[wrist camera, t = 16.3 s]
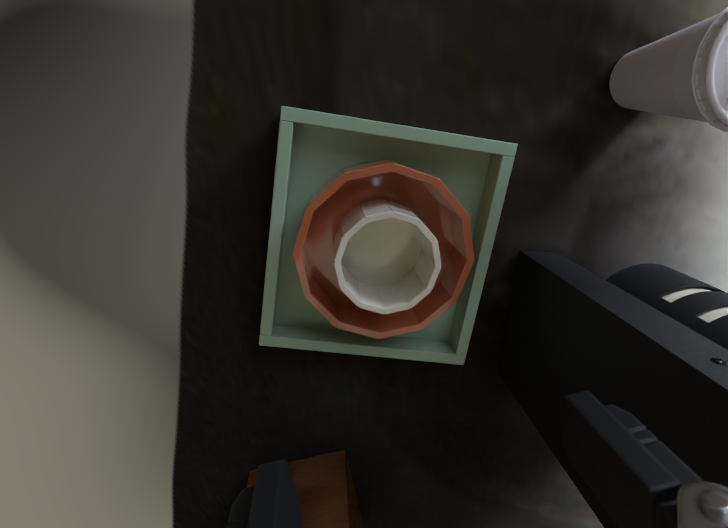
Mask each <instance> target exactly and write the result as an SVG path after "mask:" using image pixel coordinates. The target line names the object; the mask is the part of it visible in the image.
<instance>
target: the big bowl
mask: <svg viewBox="0 0 728 528" xmlns="http://www.w3.org/2000/svg"><path fill="white" fill-rule="evenodd" d="M378 199H384V200H385V199H386V200H391V201H395V202H397V203H400V204H402V205H404V206H407V207H408V208H409V209H410V210H411V211H412V212H413V213H414V214H415V215H416V216H417V217H418V218H419V219H420V220H421V221H422V222H423V223H424V225H425V226H426V227H427V228H428V229H429V230H430V232H431V233H432V234H433V235H434V236H435V237H436V239H437V241H438V245H439V252H440V259H441V270H440V272H439V275H438V277H437V279H436V282H435V284H434V287H433V289H432V291H431V293H429V294H428V295H427V296H426V297H425V298H423V299H422V300H421V301H420V302H418V303H417V304H416V305H415V306H414V307H412V308H410V309H408V310H404V311H399V312H395V313H390V314H379V313H376V312H372V311H369V310H365V309H362V308H359V307H357V306H356V305H355V304H354V303H353V302H352V301H351V300H350V299H349V298H348V297H347V296H346V295H345V294H344V293H343V292H342V291H341V290H340V288H339V284H338V280H337V276H336V271H335V267H334V260H333V241H334V238H335V233H336V230H337V228H338V225H339V223H340V222H341V220H342V219H343V218H344V216H345V215H346V214H347V213H348V212H349V211H350V210H352V209H353V208H354V207H356V206H358V205H359V204H362V203H364V202H367V201H371V200H378ZM293 257H294V261H295V265H296V269H297V272H298V276H299V280H300V284H301V288H302V292H303V295H304V296H305V298H306V299H307V300H308V301H309V302H310V303H311V304H312V305H313V306H314V307H315V308H316V309H317V310H318V311H319V312H320V313H321V314H322V315H323V316H324V317H325V318H326V319H327V320H328V321H329V322H330V323H331V324H332V325H333V326H334V327H336V328H338V329H342V330H345V331H349V332H353V333H356V334H360V335H364V336H368V337H371V338H375V339H383V338H388V337H392V336H397V335H402V334H406V333H411V332H415V331H420V330H422V329H424V328H425V327H427V326H428V325H429V324H430V323H432V322H433V321H434V320H435V319H437V318H438V317H439V316H440V315H441V314H443V313H444V312H445V311H446V310H448V309H449V308H450V307H451V306H452V305H454V304H455V303H456V302H457V301H458V299H459V296H460V294H461V291H462V289H463V287H464V284H465V282H466V280H467V277H468V275H469V272H470V270H471V268H472V265H473V263H474V259H475V257H474V249H473V242H472V234H471V226H470V218H469V215H468V213H467V212H466V210H465V209H464V208H463V207H462V205H461V204H460V203H459V202H458V200H457V199H456V198H455V197H454V195H453V194H452V193H451V192H450V191H449V189H448V188H447V187H446V186H445V184H444V183H443V182H442V181H441V179H439V178H437V177H436V176H434V175H432V174H430V173H428V172H425V171H422V170H419V169H416V168H413V167H410V166H408V165H405V164H402V163H399V162H396V161H393V160H390V159H382V160H377V161H369V162H363V163H359V164H356V165H353V166H348V167H344V168H342V169H340V170H339V171H338V172H337V173H336V174H335V175H333V176H332V177H331V178H329V179H328V180H327V181H326V182H325V183H324V184H323V185H322V186H321V187H320V188H319V189H318V190H317V191H316V192H315V193H314V194H313V195H312V196H310V197H309V199H308V200H307V204H306V207H305V210H304V214H303V217H302V220H301V224H300V227H299V230H298V233H297V237H296V240H295V244H294V248H293Z"/></svg>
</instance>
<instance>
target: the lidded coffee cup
mask: <svg viewBox="0 0 728 528" xmlns="http://www.w3.org/2000/svg"><path fill="white" fill-rule="evenodd" d="M610 92H611V95H612V97H613V99H614V101H615V102H616V103H617V104H618V105H620V106H621V107H623V108H627V109H633V110H639V111H645V112H651V113H657V114H663V115H669V116H675V117H681V118H687V119H693V120H699V121H703V122H709V123H710V125H712V126H714V127H716V128H718V129H720V130H722V131H725V132H728V7H727V8H726V9H724V10H723V11H722V12H721V13H719V14H717V15H714V16H712V17H710V18H708V19H706V20H703V21H701V22H699V23H696V24H694V25H692V26H689V27H687V28H685V29H682V30H680V31H678V32H675V33H673V34H671V35H668V36H666V37H664V38H662V39H659V40H657V41H655V42H652V43H650V44H648V45H645V46H643V47H641V48H638V49H636V50H634V51H631V52H629V53H627V54H626V55H624V56H623V57H622V58H621V59H620V60H619V61H618V62H617V64H616V65H615V67H614V68H613V71H612V73H611V77H610Z"/></svg>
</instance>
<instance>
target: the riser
mask: <svg viewBox="0 0 728 528" xmlns="http://www.w3.org/2000/svg"><path fill="white" fill-rule="evenodd" d="M287 463H288V465H289V468H290V472H291V475H292V478H293V481H294V484H295V488H296V491H297V494H298V497H299V501H300V505H301V511H302V528H364V522H363V518H362V514H361V510H360V506H359V502H358V499H357V495H356V491H355V487H354V483H353V479H352V476H351V472H350V468H349V464H348V460H347V456H346V452H345V450H340V451H336V452H331V453H327V454H322V455H318V456H313V457H309V458H304V459H300V460H295V461H291V462H287ZM257 470H258V469H255V470H251V471H250V473H249V478H248V482H247V487H246V488H248V487H252V486H255V481H256V475H257Z"/></svg>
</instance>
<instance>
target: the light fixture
mask: <svg viewBox="0 0 728 528" xmlns="http://www.w3.org/2000/svg"><path fill="white" fill-rule="evenodd" d="M499 375H500V376H501V378H502V379H503V380H504V382H505V383H506V385H507V386H508V388H509V389H510V391H511V392H512V394H513V395H514V397H515V398H516V399H517V401H518V402H519V404H520V405H521V407H522V408H523V410H524V411H525V413H526V414H527V415H528V417H529V418H530V420H531V421H532V423H533V424H534V426H535V427H536V429H537V430H538V432H539V433H540V434H541V436H542V437H543V439H544V440H545V442H546V443H547V445H548V446H549V448H550V449H551V450H552V452H553V453H554V455H555V456H556V458H557V459H558V461H559V462H560V464H561V465H562V467H563V468H564V469H565V471H566V472H567V474H568V475H569V477H570V478H571V480H572V481H573V483H574V484H575V486H576V487H577V488H578V490H579V491H580V493H581V494H582V496H583V497H584V499H585V500H586V502H587V503H588V504H589V506H590V507H591V509H592V510H593V512H594V513H595V515H596V516H597V518H598V519H599V521H600V522H601V523H602V525H603V526H604V528H619V527H618V525H617V524H616V523H615V521H614V520H613V519H612V517H611V516H610V515H609V513H608V512H607V510H606V509H605V508H604V506H603V505H602V504H601V502H600V501H599V500H598V498H597V497H596V496H595V494H594V493H593V492H592V490H591V489H590V487H589V486H588V485H587V483H586V482H585V481H584V479H583V478H582V477H581V475H580V474H579V473H578V471H577V470H576V469H575V467H574V466H573V464H572V463H571V462H570V460H569V458H568V456H567V454H566V451H565V449H564V445H563V441H562V429H561V416H560V397H561V396H565V395H569V394H573V393H578V392H582V391H589V392H591V393H592V394H593V395H594V396H595V397H596V398H597V399H598V400H599V401H600V402H601V403H602V404H603V405H604V406H607V405H611V404H613V405H615V406H617V407H619V408H621V409H623V410H625V411H627V412H629V413H631V414H632V415H634V416H635V417H636V418H637V419H638V420H639V421H640V422H641V423H642V424H643V425H644V426H645V427H646V429H647V430H648V429H649V430H650V431H651V432H652V433H653V434H654V435H655V436H656V437H657V439H658V440H660V441H661V442H663V443H664V444H665V445H666V446H667V447H668V448H669V449H670V450H671V451H672V452H673V453H674V454H675V455H676V456H678V457H679V458H680V459H681V460H682V461H683V462H684V463H685V464H686V465H687V466H688V467H689V468H690V469H692V470H693V471H694V472H695V473H696V474H697V475H698V476H699V477H700V478H701V479H702V480H703V481H707V482H713V483H717V484H720V485H723V486H726V487H728V293H725V292H724V291H722V290H720V289H717V288H715V287H713V286H710V285H708V284H706V283H703V282H701V281H699V280H696V279H694V278H692V277H689V276H687V275H685V274H682V273H680V272H678V271H675V270H673V269H671V268H668V267H666V266H662V265H658V264H641V265H636V266H632V267H629V268H626V269H624V270H622V271H620V272H618V273H616V274H614V275H613V276H611V277H610V278H609V279H607V280H604V279H603V278H601V277H599V276H597V275H596V274H594V273H592V272H590V271H589V270H587V269H585V268H583V267H582V266H580V265H578V264H576V263H575V262H573V261H571V260H569V259H568V258H566V257H564V256H562V255H561V254H559V253H557V252H539V251H520V252H519V258H518V263H517V269H516V275H515V281H514V287H513V293H512V298H511V304H510V310H509V316H508V322H507V328H506V333H505V339H504V345H503V351H502V357H501V363H500V368H499Z"/></svg>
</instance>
